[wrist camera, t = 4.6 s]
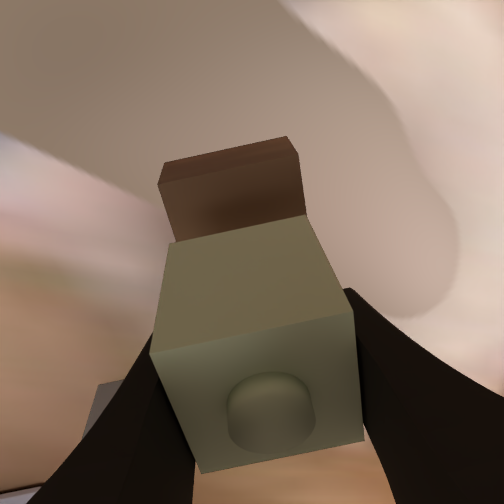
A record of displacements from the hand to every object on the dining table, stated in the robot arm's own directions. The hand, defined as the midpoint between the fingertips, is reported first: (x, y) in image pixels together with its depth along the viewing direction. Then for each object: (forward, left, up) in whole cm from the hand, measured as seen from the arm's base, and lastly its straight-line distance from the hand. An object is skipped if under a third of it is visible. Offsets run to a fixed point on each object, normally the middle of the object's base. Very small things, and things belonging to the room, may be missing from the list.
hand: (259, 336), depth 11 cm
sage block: (0, 0, -2) cm, 2 cm away
